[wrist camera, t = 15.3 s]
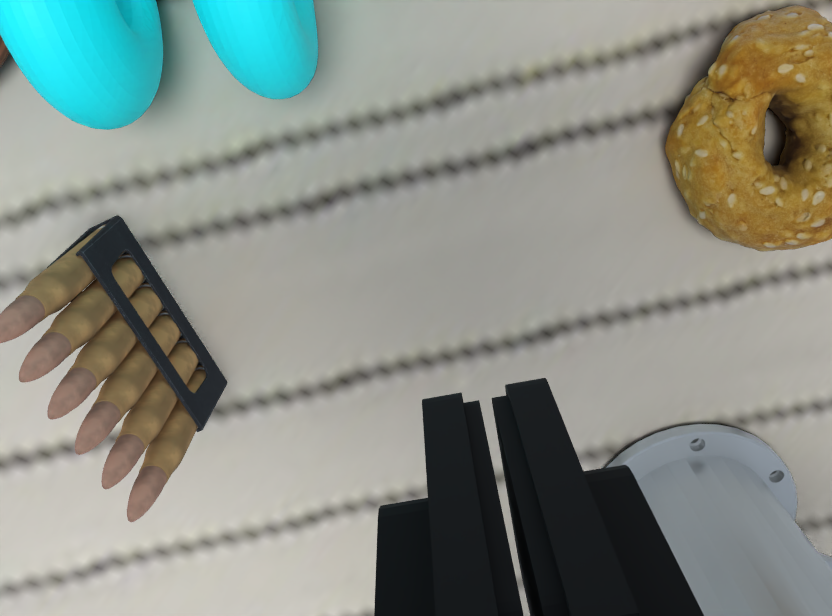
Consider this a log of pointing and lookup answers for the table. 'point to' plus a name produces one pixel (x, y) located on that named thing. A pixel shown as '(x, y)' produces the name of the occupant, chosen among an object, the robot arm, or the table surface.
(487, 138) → the table surface
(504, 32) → the table surface
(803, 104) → the bagel
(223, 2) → the donuts
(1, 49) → the cup and saucer
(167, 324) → the ammunition clip
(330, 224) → the table surface
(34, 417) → the table surface
